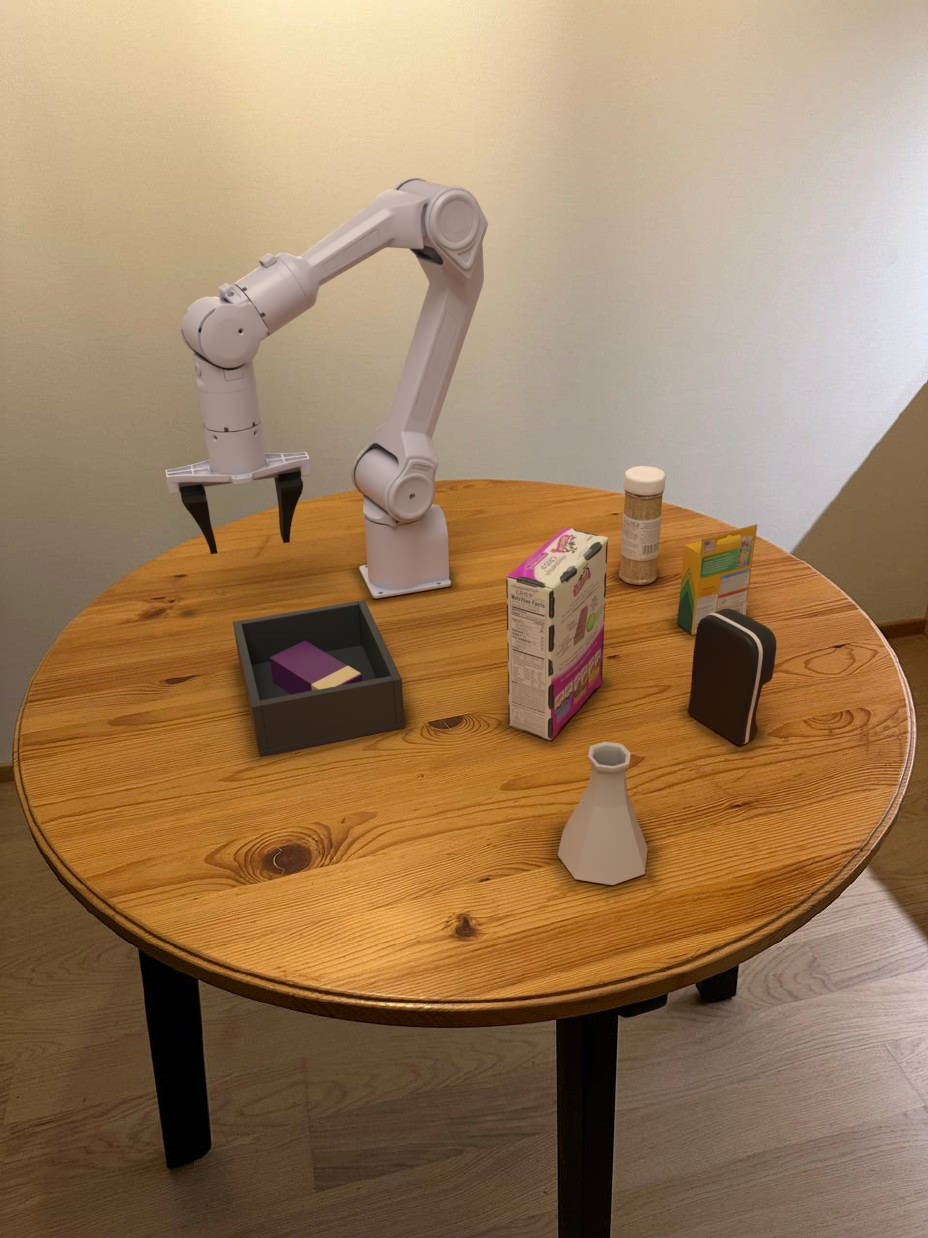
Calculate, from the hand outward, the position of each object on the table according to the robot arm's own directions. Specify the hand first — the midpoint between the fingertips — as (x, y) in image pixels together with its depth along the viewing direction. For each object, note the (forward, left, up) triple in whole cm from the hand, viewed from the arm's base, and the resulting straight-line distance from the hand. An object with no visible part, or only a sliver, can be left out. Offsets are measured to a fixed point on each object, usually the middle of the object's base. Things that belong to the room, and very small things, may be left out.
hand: (249, 544), depth 107 cm
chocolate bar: (-4, +17, -9) cm, 19 cm away
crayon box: (-47, +17, -10) cm, 51 cm away
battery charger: (-39, +34, -10) cm, 53 cm away
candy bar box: (-25, +26, -10) cm, 37 cm away
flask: (-21, +46, -10) cm, 51 cm away
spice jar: (-44, +5, -10) cm, 45 cm away
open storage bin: (-4, +17, -9) cm, 20 cm away
